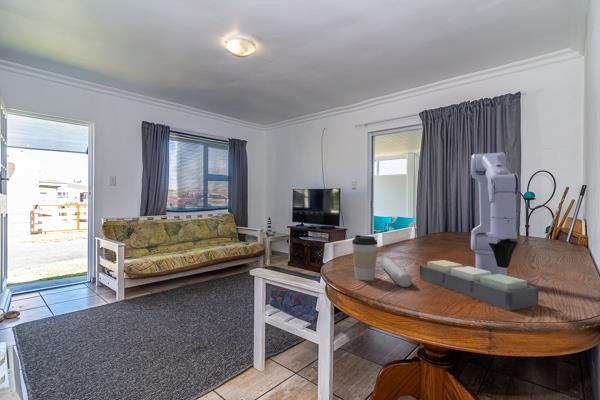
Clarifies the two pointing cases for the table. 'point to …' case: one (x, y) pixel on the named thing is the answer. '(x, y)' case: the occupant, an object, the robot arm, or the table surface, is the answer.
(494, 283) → the sage key
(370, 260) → the coffee cup
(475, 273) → the middle key
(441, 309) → the table surface
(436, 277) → the grey button box
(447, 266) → the sand key
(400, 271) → the tube
